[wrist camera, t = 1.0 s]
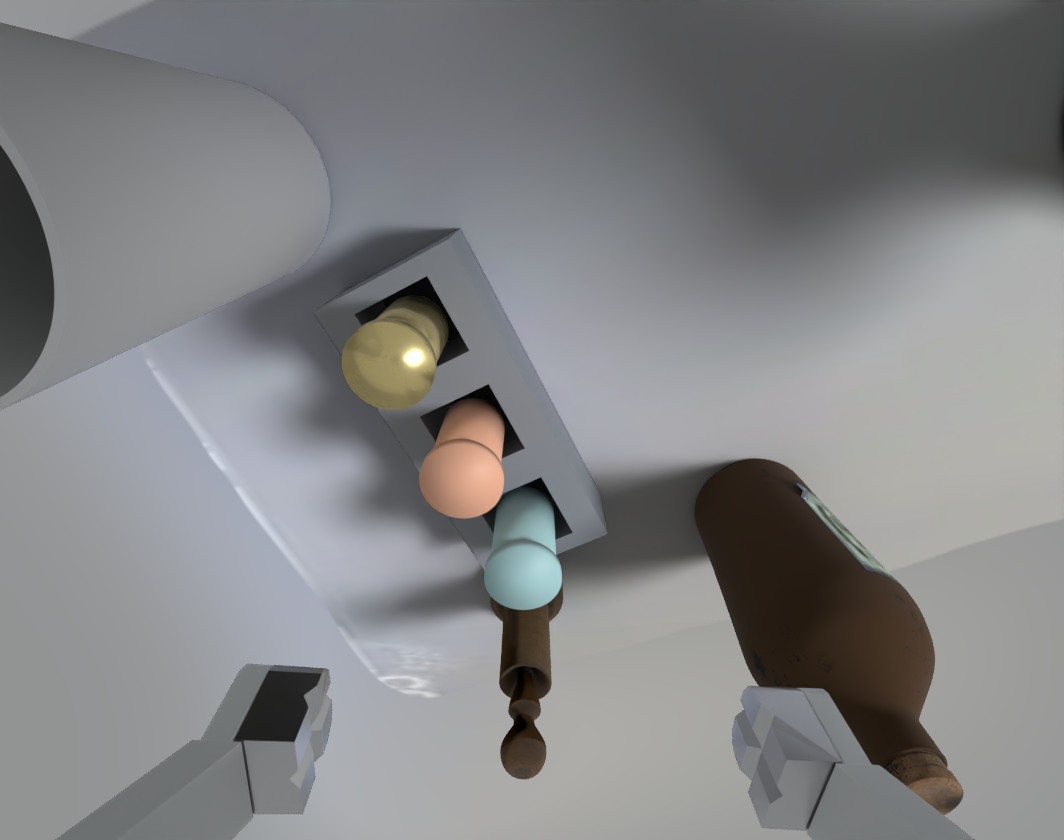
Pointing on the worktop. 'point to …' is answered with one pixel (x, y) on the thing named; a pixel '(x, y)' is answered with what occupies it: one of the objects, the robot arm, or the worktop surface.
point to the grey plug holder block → (467, 366)
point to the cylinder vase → (136, 202)
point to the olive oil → (824, 616)
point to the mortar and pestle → (525, 682)
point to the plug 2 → (465, 461)
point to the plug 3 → (523, 551)
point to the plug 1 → (396, 354)
